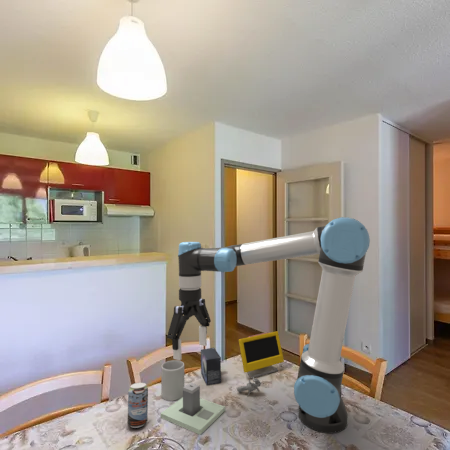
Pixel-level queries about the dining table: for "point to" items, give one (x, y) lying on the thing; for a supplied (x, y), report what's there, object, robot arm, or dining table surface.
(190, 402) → the block
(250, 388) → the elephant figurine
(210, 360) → the small box
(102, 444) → the dining table surface
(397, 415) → the dining table surface
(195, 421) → the outlet plate
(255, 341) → the toy computer monitor
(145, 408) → the beverage can
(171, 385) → the mug
